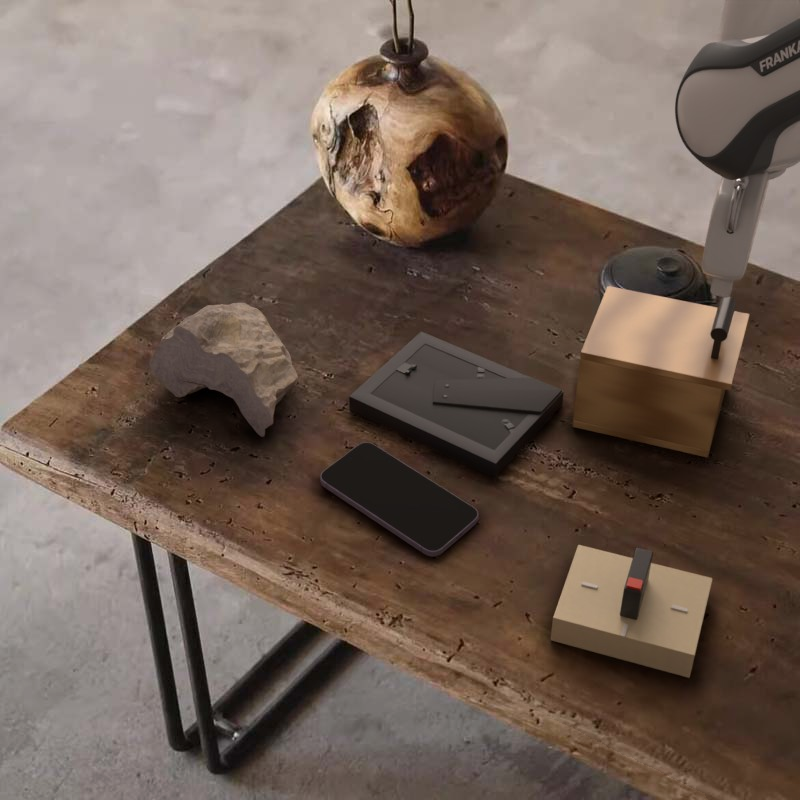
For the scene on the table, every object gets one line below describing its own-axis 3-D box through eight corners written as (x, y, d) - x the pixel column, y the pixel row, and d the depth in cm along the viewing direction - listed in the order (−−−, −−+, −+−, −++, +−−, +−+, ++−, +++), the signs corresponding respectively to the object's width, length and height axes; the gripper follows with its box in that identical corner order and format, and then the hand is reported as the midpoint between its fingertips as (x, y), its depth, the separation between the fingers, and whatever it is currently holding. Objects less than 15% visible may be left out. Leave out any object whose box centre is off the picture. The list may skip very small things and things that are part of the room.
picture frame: (562, 405, 137) (421, 345, 145) (564, 388, 136) (421, 328, 143) (495, 478, 129) (348, 410, 136) (496, 461, 127) (348, 393, 135)
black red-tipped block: (631, 574, 115) (636, 544, 113) (648, 578, 115) (653, 549, 112) (619, 616, 112) (624, 586, 109) (636, 620, 111) (642, 591, 109)
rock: (149, 393, 139) (137, 313, 133) (234, 338, 148) (226, 261, 142) (260, 450, 132) (253, 369, 126) (343, 389, 140) (340, 310, 134)
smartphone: (433, 555, 120) (315, 476, 127) (433, 563, 121) (315, 484, 128) (483, 512, 124) (365, 438, 131) (482, 520, 125) (365, 446, 132)
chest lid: (748, 320, 133) (756, 282, 130) (730, 390, 125) (738, 352, 122) (606, 291, 137) (611, 255, 134) (579, 358, 129) (584, 320, 126)
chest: (726, 386, 139) (740, 319, 134) (707, 458, 131) (721, 389, 125) (598, 359, 143) (606, 292, 137) (572, 427, 134) (579, 359, 129)
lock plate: (707, 600, 117) (713, 576, 115) (689, 679, 110) (694, 655, 108) (575, 566, 120) (578, 542, 118) (549, 641, 113) (552, 617, 111)
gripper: (778, 197, 103) (747, 336, 112) (807, 80, 117) (778, 212, 126) (697, 182, 104) (673, 321, 113) (736, 69, 119) (712, 200, 128)
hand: (728, 263), depth 120 cm, fingers open, 8 cm apart
